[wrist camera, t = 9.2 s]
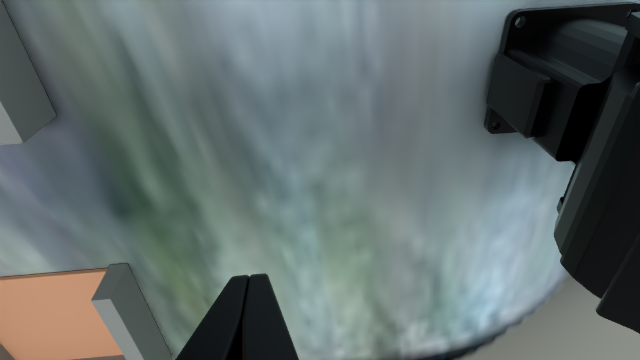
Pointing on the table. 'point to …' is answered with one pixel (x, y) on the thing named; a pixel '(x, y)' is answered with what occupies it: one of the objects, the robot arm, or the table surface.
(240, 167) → the table surface
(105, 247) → the table surface
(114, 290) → the trap lane
